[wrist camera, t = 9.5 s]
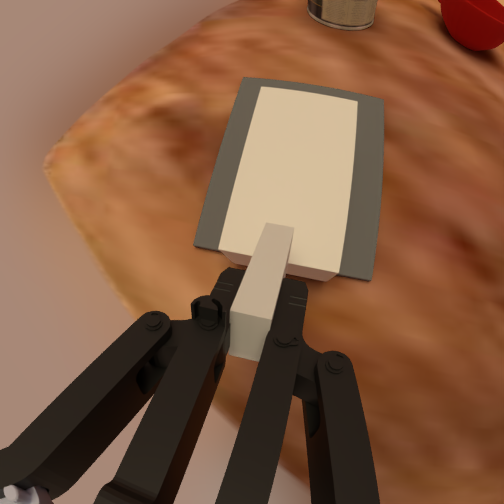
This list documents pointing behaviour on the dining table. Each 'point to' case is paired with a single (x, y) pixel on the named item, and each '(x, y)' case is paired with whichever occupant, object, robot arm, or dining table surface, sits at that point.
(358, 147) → the charcoal mat
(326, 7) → the coffee can
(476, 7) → the ceramic cup
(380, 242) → the dining table surface
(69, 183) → the dining table surface
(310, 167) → the cream block
